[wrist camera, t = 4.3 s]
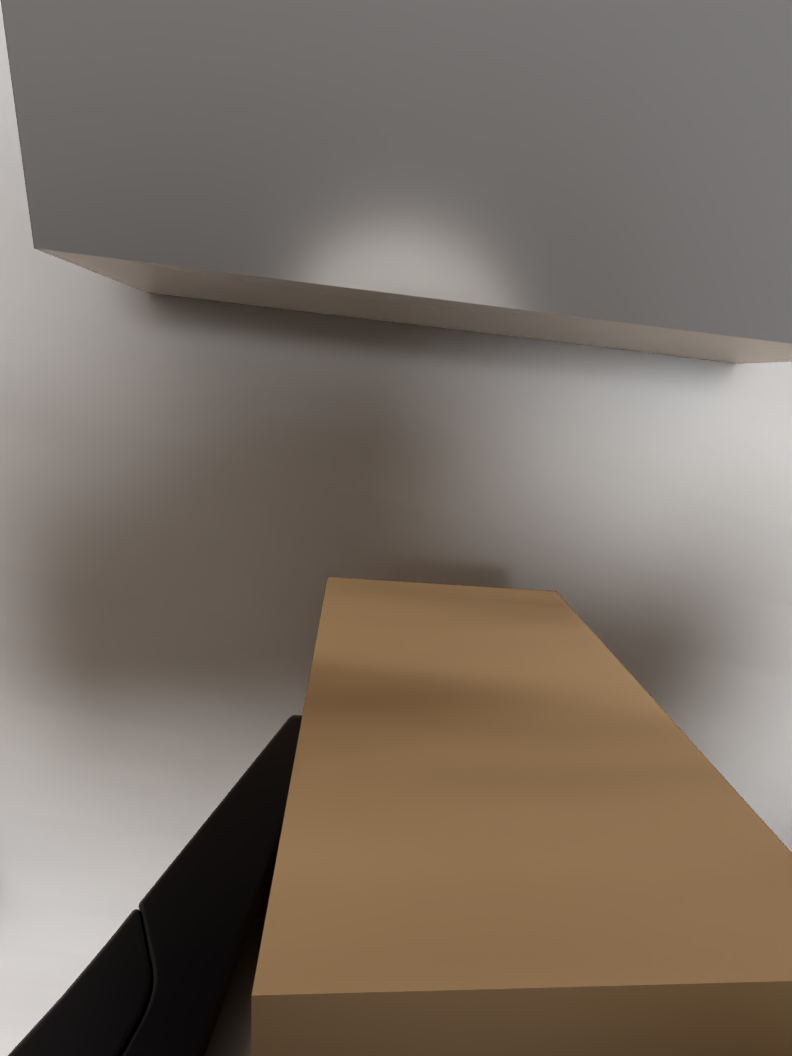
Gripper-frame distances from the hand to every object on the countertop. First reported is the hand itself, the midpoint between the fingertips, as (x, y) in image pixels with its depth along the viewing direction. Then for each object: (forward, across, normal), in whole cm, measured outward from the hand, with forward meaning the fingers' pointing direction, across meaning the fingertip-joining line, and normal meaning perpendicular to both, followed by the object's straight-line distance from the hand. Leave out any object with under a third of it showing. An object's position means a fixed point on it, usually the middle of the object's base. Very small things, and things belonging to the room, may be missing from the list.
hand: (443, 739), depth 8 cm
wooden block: (+2, 0, 0) cm, 2 cm away
